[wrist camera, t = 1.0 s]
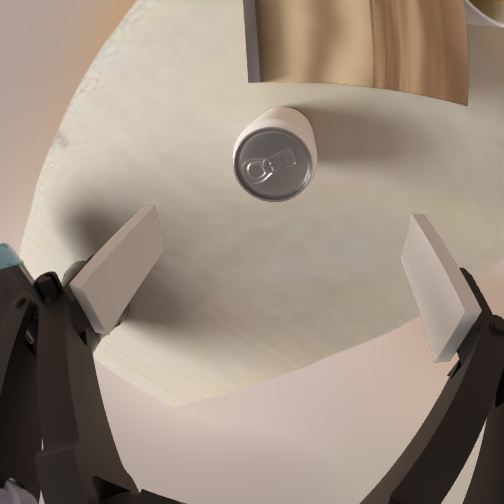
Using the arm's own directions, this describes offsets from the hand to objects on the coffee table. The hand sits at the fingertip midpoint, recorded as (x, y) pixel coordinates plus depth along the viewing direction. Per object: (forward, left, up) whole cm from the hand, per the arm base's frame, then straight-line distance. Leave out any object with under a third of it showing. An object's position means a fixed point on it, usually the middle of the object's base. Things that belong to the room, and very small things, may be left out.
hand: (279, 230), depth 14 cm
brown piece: (+3, +18, -19) cm, 26 cm away
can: (-1, +1, -19) cm, 19 cm away
